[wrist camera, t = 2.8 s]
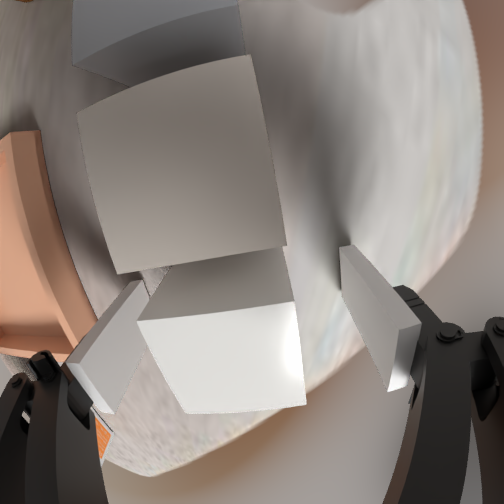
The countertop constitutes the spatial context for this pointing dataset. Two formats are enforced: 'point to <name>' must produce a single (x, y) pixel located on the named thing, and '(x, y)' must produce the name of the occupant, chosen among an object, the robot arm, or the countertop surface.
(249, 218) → the beige rectangular block
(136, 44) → the grey rectangular block
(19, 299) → the dish
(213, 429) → the countertop surface
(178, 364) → the white block
